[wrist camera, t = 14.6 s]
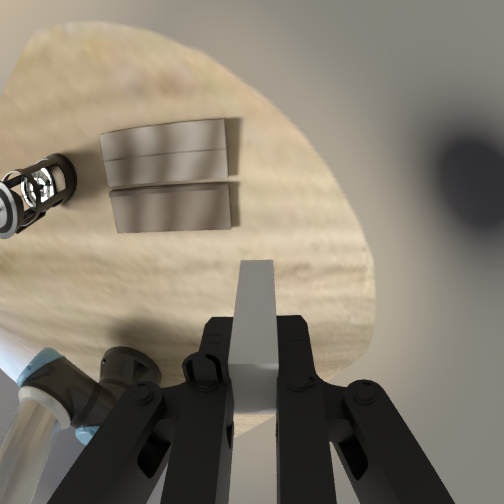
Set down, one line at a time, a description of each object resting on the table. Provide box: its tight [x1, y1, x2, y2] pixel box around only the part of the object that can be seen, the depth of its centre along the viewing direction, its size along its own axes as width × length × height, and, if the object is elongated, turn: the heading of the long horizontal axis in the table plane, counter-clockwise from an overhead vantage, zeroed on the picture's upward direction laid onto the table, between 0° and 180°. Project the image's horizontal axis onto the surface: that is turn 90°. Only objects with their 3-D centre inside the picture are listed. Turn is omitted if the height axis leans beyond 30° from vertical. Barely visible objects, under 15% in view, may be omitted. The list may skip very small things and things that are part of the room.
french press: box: [0, 154, 77, 239], centre depth 37 cm, size 12×9×23 cm
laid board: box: [109, 182, 232, 233], centre depth 49 cm, size 20×8×2 cm, turn 92°
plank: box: [99, 118, 229, 187], centre depth 45 cm, size 20×9×1 cm, turn 92°
